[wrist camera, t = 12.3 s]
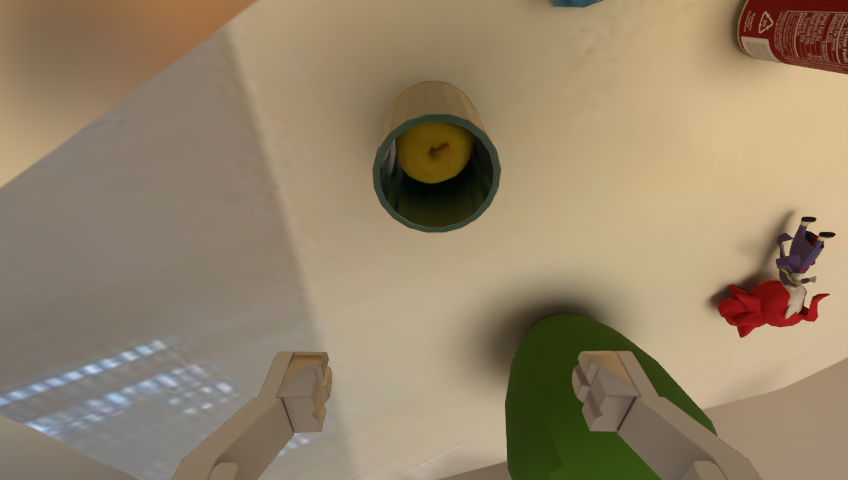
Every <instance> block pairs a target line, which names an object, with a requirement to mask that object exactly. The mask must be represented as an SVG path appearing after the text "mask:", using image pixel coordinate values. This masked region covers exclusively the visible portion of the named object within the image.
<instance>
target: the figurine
mask: <svg viewBox="0 0 848 480" xmlns="http://www.w3.org/2000/svg"><path fill="white" fill-rule="evenodd" d="M815 221H816V218H814V217H802V219H801V224H800V226H799V229H798V231H797V232H796V235H795V237H794V238H792V237H791V236H789V235H788V234H786V233H784V234H782V235H781V236H779V237H778V239H777V243H778V245H779V248H780V258H779V259H776V264H777V268H779V277H780V279H773V280H767V281H762V282H758V283H757V284H758V285H757V286H755V287H754V288H753V289H752V291H751V293H750V292H748V291H745V290H741V289H738V288H737V287H736V286H735V285H733V284H732V285H731V286H730V292H731V296H732V297H733V299H732V298H730V299H725V300H724V301H722V302H721V303H720V304H719V305H718V309H719V312H720V314H721V316H722V317H724V318H725V319H726V321H727V322H728V323H729V324H730V325H733V326H737V329H738V332H739V335H740V337H741V338H742V337H744V336H746V335H748V334H749V333H750V332H751V331H752V330H753V329H754V328H756V327H760V326H762V325H765V324H766V323H767V324H769V325H771V326H777V327H786V326H793V325H795V324H797V323H799V322H800V321H801V320H802V319H803V320H806V321H814V322H815V320H816V319H817V317H818V312H817V304H818V302H819V301H820V300H821V299H822V298H824V297H826V296H828V295H830V294H818V295H816V296H814V297H813V298H812V301H811V304H810V308H809V309H808V308H806V307H805V306H804V300H805V296H806V294H807V291H806V289H805V287H804V286H803V285H801V284H805V283H808V282H810V281H811V282H814V283H815V281H816V279H815V278H817V277H816V276H814V277H811V278H805V279H802V277H803V275H804V273H805V272H806V271H807V270H808V269H809V267H810V265H811V266H812V265H814V264H815V259H816V258H817V257H818V255H819V254H820V252H821V251H822V249H823V248H824V244H823V243H824V240H825V239H828V238H831V237H834V236H835V235H836V234H835V233H832V232H820V233H819V236H817V235H815V234H814V233H812V232H810V231H806V228H807V226H808V224H810V223H812V222H815ZM791 239H793V241H792V245H791V249H790V252H789V256H785V253H784V244H782V242H783V241H787V240H791Z"/></svg>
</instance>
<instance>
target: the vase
mask: <svg viewBox="0 0 848 480" xmlns="http://www.w3.org/2000/svg"><path fill="white" fill-rule="evenodd" d="M582 351H630V352H632V353H633V354H634V356H635V358H636V359H637V361H638V362H639V364H640V366H641V367H642V369H643V371H644V372H645V374H646V376H647V377H648V379H649V381H650V382H651V384H652V386H653V387H654V389H655V391H656V392H657V394H658V396H659V397H665V398H666V399H667V400H669V401H670V402H671V403H673V404H674V405H676V406H677V407H678V408H680V409H681V410H682V411H684V412H685V413H686V414H688V415H689V416H690V417H692V418H693V419H694V420H696V421H697V422H698V423H700V424H701V425H703V426H704V427H705V428H707V429H708V430H709V431H711V432H712V433H713V434H715V435H716V436H717V433H716V431H715V429H714V426H713V424H712V422H711V420H710V419H709V418H708V417H707V416H706V415H705V414H704V413H703V411H702V410H701V409H700V408H699V407H698V406H697V405H696V404H695V403H694V402H693V400H692V399H691V398H690V397H689V396H688V395H687V394H686V393H685V392H684V391H683V389H682V388H681V387H680V386H679V385H678V384H677V383H676V382H675V381H674V380H673V378H672V377H671V376H670V375H669V374H668V373H667V372H666V371H665V370H664V369H663V367H662V366H661V365H660V364H659V363H658V362H657V361H656V360H654V359H653V358H652V357H651V356H649V355H648V354H647V353H645V352H644V351H643V350H641V349H640V348H639V347H637V346H636V345H635V344H633V343H632V342H631V341H630V340H628V339H627V338H626V337H624V336H623V335H622V334H620V333H619V332H617V331H616V330H614V329H612V328H610V327H608V326H606V325H604V324H602V323H600V322H597V321H595V320H593V319H591V318H588V317H585V316H580V315H575V314H570V313H562V314H555V315H551V316H548V317H545V318H543V319H541V320H540V321H538V322H537V323H535V324H534V325H533V326H532V327H531V328H530V329H529V331H528V332H527V333H526V334H525V335H524V337H523V339H522V340H521V342H520V344H519V347H518V349H517V351H516V354H515V356H514V358H513V361H512V365H511V370H510V376H509V382H508V389H507V395H506V401H505V415H506V438H507V461H508V470H509V473H510V475H511V478H512V480H661V478H660V477H659V476H658V475H657V474H656V473H655V472H654V471H653V470H652V469H651V468H650V467H649V466H648V465H647V464H646V463H645V462H644V461H643V460H642V459H641V458H640V457H639V456H638V454H637V453H636V452H635V451H634V450H633V449H632V448H631V447H630V446H629V445H628V444H627V443H626V442H625V441H624V440H623V439H622V438H621V437H620V436H619V435H618V434H617V432H609V431H590V430H589V428H588V425H587V423H586V420H585V418H584V415H583V413H582V408H583V405H584V403H582V402H581V401H580V400H579V399H578V398H577V397H576V395H575V392H574V389H573V384H572V373H573V370H574V367H576V366H577V365H579V364H580V363H579V361H578V356H579V354H580V353H581V352H582ZM717 437H718V436H717Z"/></svg>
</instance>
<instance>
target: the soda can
mask: <svg viewBox="0 0 848 480" xmlns="http://www.w3.org/2000/svg"><path fill="white" fill-rule="evenodd" d="M737 38H738V42H739V45H740V47H741V49H742V50H743V51H744V52H745V53H746V54H747V55H748V56H750V57H753V58H756V59H761V60H767V61H773V62H778V63H784V64H790V65H796V66H802V67H808V68H814V69H819V70H825V71H831V72H837V73H843V74H848V0H747V1H746V3H745V5H744V7H743V9H742V11H741V14H740V17H739V21H738V26H737Z"/></svg>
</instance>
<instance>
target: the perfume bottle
mask: <svg viewBox="0 0 848 480" xmlns="http://www.w3.org/2000/svg"><path fill="white" fill-rule="evenodd" d="M600 1H602V0H554V6H558V7H587V6H589V5H592V4H594V3H597V2H600Z"/></svg>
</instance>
